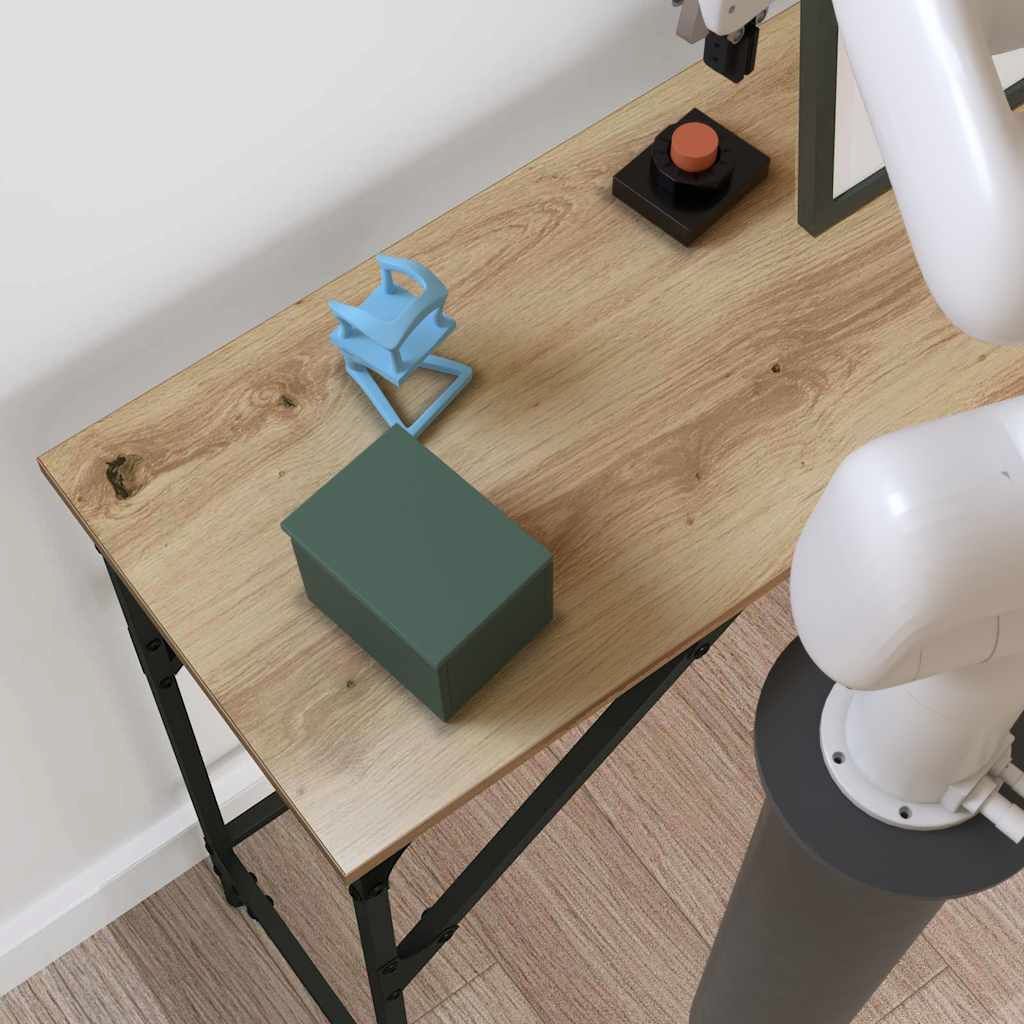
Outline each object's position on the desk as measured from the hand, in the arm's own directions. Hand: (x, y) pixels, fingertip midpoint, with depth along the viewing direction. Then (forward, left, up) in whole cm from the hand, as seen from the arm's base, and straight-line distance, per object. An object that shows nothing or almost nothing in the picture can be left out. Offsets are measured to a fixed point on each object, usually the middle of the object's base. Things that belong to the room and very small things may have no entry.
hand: (728, 67), depth 110 cm
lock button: (+5, -4, -16) cm, 17 cm away
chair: (+8, +25, -20) cm, 33 cm away
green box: (-7, +37, -19) cm, 42 cm away
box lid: (-6, +37, -10) cm, 39 cm away
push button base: (+5, -4, -19) cm, 20 cm away
